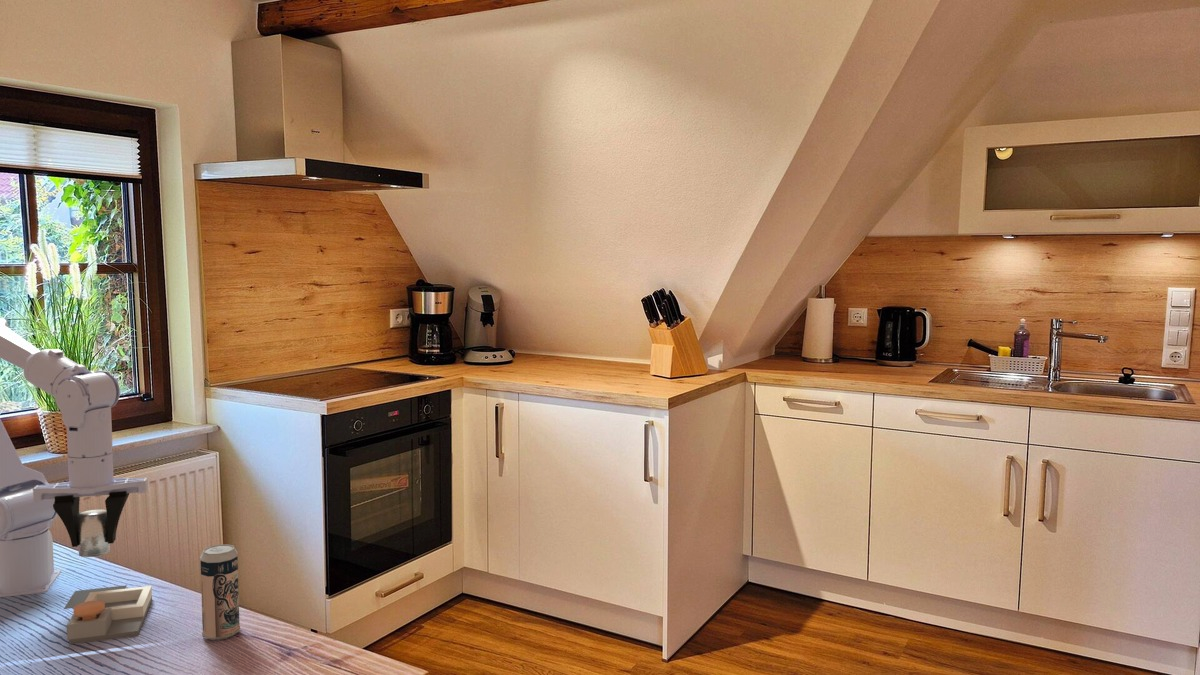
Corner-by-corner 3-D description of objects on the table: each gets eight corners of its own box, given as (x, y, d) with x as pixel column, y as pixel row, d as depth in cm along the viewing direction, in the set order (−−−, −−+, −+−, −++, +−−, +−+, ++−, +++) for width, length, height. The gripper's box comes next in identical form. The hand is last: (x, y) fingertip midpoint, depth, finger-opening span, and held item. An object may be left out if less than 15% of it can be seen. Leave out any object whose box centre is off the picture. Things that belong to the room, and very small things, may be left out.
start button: (77, 625, 114) (76, 602, 114) (107, 621, 115) (107, 599, 115) (71, 636, 111) (70, 612, 110) (102, 632, 112) (101, 609, 112)
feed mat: (75, 593, 128) (75, 590, 128) (126, 587, 131) (126, 585, 131) (63, 611, 122) (63, 608, 122) (118, 604, 124) (118, 602, 124)
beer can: (225, 643, 112) (223, 556, 111) (194, 640, 113) (191, 553, 112) (247, 628, 116) (245, 544, 115) (217, 625, 117) (214, 542, 116)
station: (89, 609, 122) (88, 589, 122) (152, 601, 125) (151, 582, 125) (67, 647, 110) (66, 625, 110) (137, 638, 113) (137, 616, 113)
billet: (82, 549, 127) (80, 510, 126) (112, 546, 128) (110, 508, 128) (75, 558, 123) (74, 518, 123) (107, 555, 124) (105, 515, 124)
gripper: (25, 463, 118) (29, 557, 119) (141, 456, 123) (144, 546, 124) (38, 452, 125) (43, 541, 126) (148, 446, 130) (151, 532, 131)
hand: (94, 543), depth 125 cm, fingers closed on billet, 4 cm apart
